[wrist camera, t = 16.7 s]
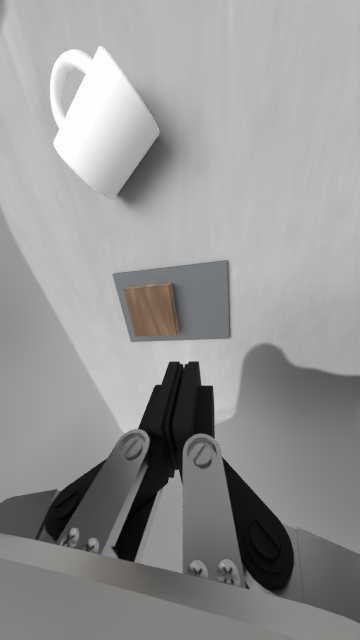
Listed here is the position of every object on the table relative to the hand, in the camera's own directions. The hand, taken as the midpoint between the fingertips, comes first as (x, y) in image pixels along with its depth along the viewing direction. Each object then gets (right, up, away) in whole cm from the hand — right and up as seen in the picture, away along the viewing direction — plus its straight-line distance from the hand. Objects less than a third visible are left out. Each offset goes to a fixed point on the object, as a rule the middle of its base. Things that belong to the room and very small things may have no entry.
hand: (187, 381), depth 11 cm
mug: (-10, +29, +15) cm, 34 cm away
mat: (-2, +6, +23) cm, 24 cm away
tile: (-1, +6, +21) cm, 22 cm away
